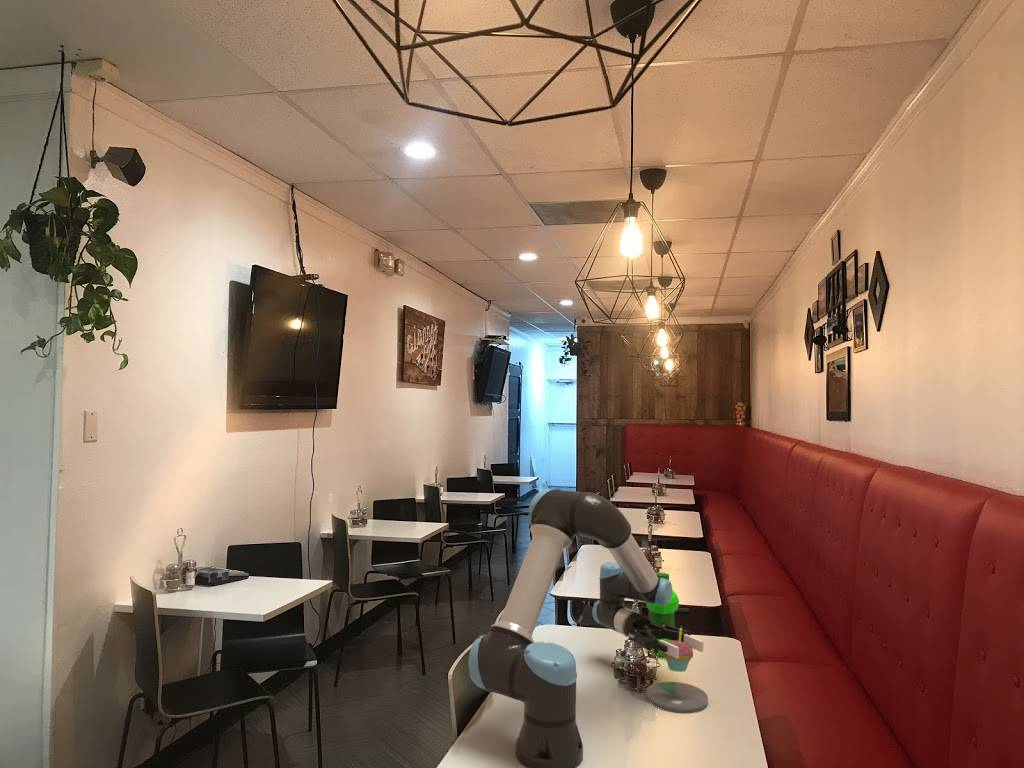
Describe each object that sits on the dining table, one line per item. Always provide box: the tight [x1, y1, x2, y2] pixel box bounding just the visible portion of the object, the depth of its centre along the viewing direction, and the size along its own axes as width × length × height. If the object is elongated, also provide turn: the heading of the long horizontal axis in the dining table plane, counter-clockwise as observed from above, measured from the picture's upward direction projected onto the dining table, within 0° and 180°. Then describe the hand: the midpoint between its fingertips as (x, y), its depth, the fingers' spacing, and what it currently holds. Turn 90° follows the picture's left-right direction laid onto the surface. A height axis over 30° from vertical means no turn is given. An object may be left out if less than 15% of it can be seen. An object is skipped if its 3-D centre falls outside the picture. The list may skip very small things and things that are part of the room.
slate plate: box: [645, 681, 709, 714], centre depth 183 cm, size 16×16×2 cm
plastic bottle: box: [645, 572, 680, 658], centre depth 217 cm, size 10×10×25 cm
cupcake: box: [661, 625, 694, 673], centre depth 184 cm, size 9×8×12 cm
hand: (690, 649), depth 180 cm, fingers closed on cupcake, 8 cm apart
